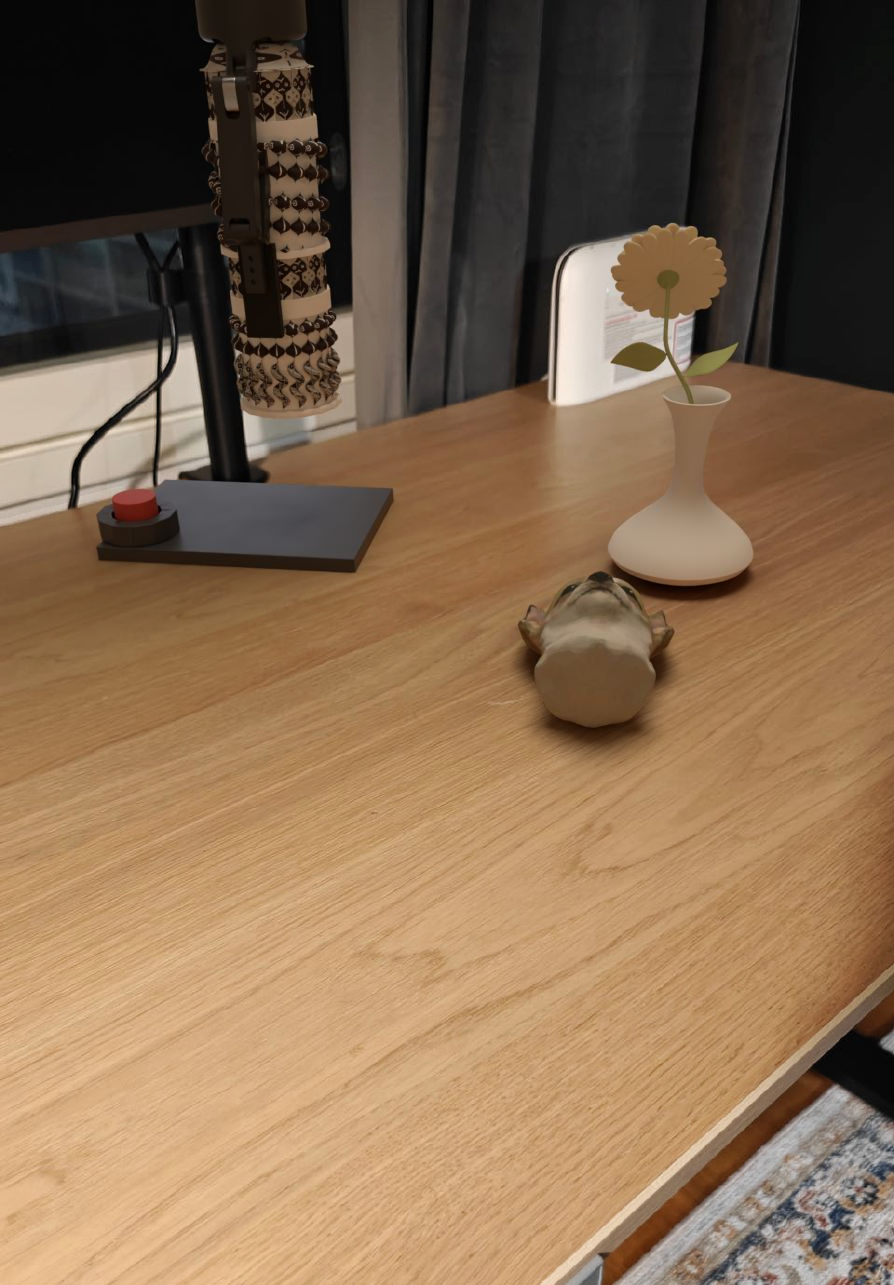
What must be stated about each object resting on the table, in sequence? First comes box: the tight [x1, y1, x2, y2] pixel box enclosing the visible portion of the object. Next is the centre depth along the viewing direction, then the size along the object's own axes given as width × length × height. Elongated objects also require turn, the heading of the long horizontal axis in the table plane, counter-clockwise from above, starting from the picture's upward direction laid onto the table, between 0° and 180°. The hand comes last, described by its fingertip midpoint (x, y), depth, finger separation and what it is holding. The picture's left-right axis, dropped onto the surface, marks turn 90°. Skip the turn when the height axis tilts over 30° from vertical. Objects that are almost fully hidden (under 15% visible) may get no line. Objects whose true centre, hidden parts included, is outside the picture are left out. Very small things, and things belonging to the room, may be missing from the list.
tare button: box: [111, 488, 159, 522], centre depth 95 cm, size 4×4×2 cm
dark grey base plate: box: [95, 479, 395, 574], centre depth 99 cm, size 23×16×3 cm
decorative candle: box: [199, 40, 343, 420], centre depth 87 cm, size 9×9×25 cm
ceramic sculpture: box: [517, 570, 675, 729], centre depth 74 cm, size 11×9×15 cm
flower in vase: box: [607, 222, 754, 587], centre depth 84 cm, size 13×11×25 cm
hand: (282, 322), depth 90 cm, fingers closed on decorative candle, 8 cm apart
